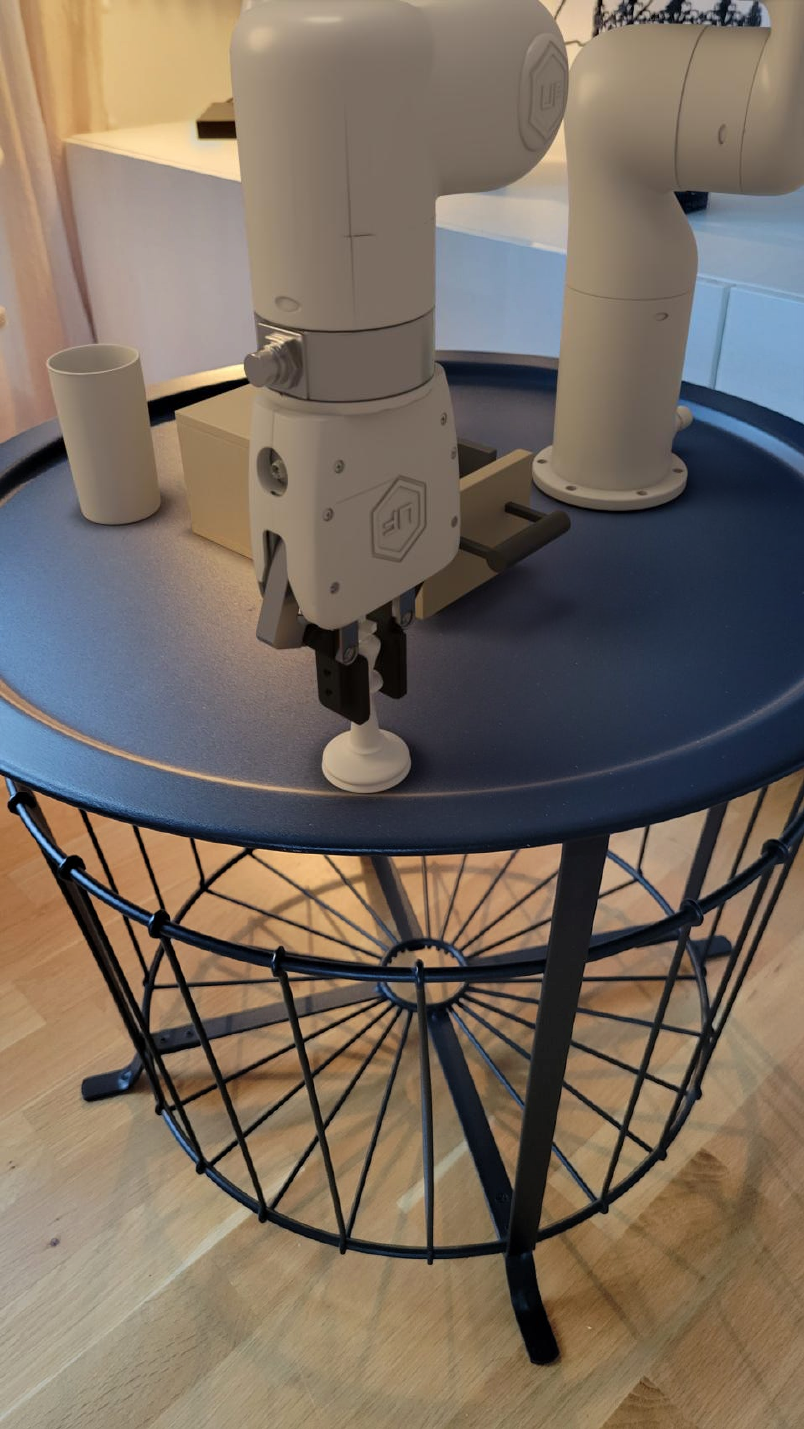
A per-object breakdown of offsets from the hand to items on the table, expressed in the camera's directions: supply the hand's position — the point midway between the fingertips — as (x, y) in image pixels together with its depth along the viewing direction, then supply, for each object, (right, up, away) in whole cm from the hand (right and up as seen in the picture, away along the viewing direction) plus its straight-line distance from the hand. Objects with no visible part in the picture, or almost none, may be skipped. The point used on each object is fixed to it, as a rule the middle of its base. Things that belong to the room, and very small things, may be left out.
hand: (363, 698), depth 56 cm
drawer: (+4, +10, +19) cm, 21 cm away
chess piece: (0, -4, +3) cm, 5 cm away
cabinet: (-4, +13, +25) cm, 29 cm away
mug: (-20, +17, +30) cm, 40 cm away
